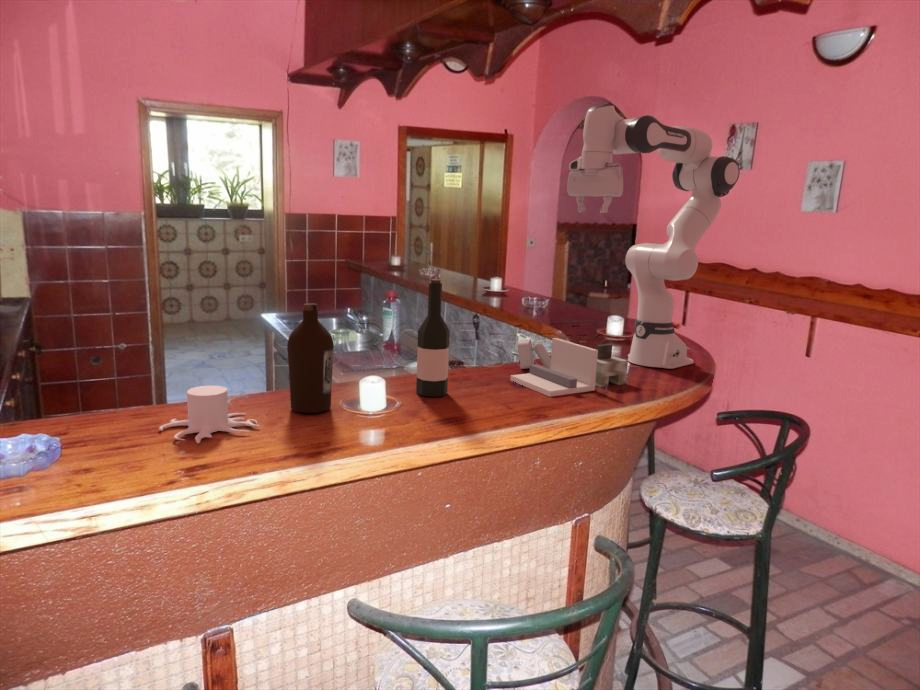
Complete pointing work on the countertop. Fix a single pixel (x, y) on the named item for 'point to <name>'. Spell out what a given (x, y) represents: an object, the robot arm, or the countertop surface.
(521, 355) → the white block with rod
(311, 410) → the olive oil
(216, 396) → the tree stump
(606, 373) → the cabinet block
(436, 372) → the wine bottle
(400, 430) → the countertop surface
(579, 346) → the board
